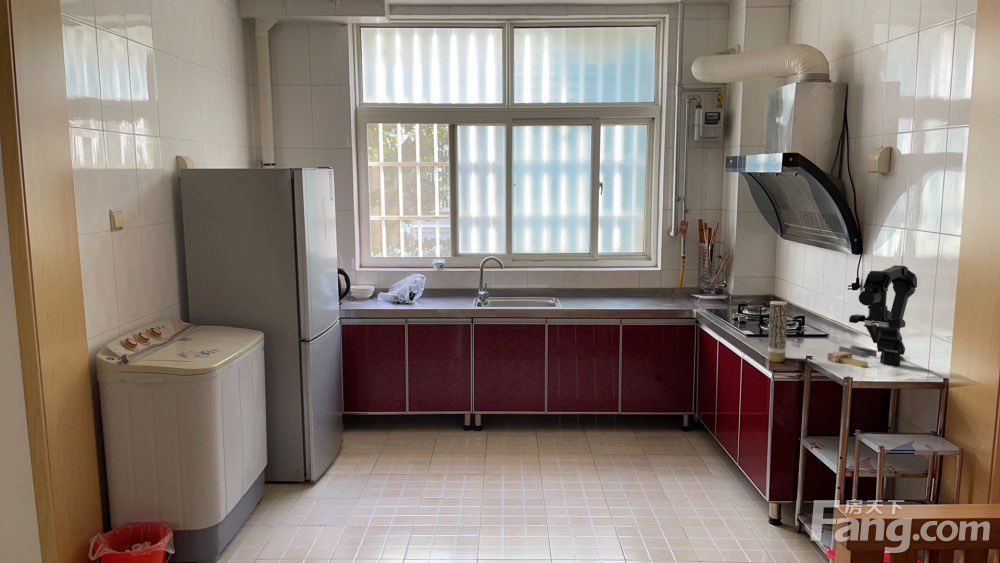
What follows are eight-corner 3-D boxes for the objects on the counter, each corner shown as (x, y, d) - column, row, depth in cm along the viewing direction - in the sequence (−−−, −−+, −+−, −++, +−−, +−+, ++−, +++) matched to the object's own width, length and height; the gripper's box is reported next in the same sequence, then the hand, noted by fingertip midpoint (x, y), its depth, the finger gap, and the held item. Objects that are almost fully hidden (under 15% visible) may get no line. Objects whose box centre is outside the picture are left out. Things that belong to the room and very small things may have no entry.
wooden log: (786, 362, 290) (789, 303, 287) (769, 362, 291) (771, 303, 289) (783, 359, 297) (785, 301, 294) (766, 358, 298) (768, 301, 295)
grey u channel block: (876, 358, 298) (876, 350, 297) (861, 360, 295) (861, 352, 295) (853, 353, 309) (854, 345, 309) (838, 354, 306) (839, 346, 306)
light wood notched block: (851, 364, 287) (852, 353, 287) (834, 366, 284) (835, 355, 284) (844, 362, 291) (844, 351, 290) (827, 364, 288) (827, 353, 287)
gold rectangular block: (867, 370, 277) (867, 361, 277) (860, 371, 276) (861, 362, 275) (841, 364, 288) (842, 356, 288) (835, 365, 287) (836, 356, 286)
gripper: (912, 304, 266) (909, 344, 268) (862, 299, 281) (860, 337, 282) (900, 306, 259) (897, 347, 261) (849, 301, 274) (847, 340, 275)
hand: (875, 343), depth 270 cm, fingers closed
